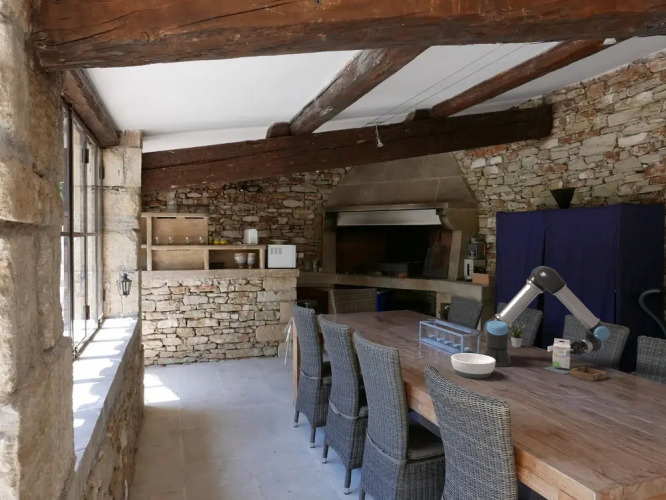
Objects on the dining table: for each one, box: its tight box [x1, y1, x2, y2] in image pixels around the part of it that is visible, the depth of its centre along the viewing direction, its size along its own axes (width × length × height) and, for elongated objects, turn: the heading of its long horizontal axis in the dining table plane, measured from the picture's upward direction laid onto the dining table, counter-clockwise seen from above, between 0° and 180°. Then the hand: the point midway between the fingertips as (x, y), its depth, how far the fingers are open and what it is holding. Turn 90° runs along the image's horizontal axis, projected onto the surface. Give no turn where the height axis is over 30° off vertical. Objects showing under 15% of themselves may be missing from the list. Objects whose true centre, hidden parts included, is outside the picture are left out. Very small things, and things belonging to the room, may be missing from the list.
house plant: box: [508, 322, 526, 348], centre depth 323 cm, size 14×14×16 cm
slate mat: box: [543, 365, 571, 375], centre depth 267 cm, size 12×12×1 cm
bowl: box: [450, 352, 496, 380], centre depth 257 cm, size 22×22×8 cm
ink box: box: [552, 337, 571, 369], centre depth 267 cm, size 9×5×15 cm, turn 62°
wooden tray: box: [569, 366, 608, 382], centre depth 255 cm, size 12×12×3 cm
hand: (556, 351), depth 265 cm, fingers closed on ink box, 9 cm apart
